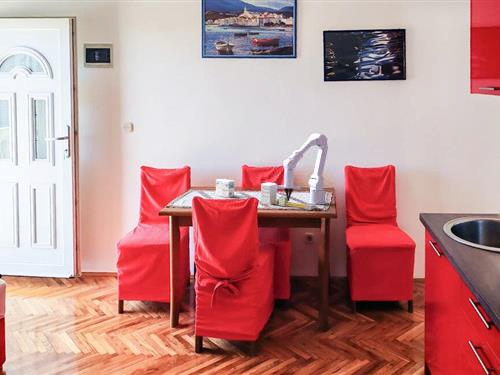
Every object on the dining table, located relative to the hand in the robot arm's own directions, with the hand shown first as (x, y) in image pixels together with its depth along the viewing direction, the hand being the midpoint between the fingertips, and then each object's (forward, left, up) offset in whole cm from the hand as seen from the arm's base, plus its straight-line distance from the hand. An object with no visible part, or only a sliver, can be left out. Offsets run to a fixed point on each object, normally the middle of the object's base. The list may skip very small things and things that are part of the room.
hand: (288, 200), depth 391 cm
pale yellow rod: (-2, +2, -3) cm, 4 cm away
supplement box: (+8, -11, -3) cm, 14 cm away
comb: (-9, +11, -3) cm, 14 cm away
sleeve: (+2, -3, -3) cm, 5 cm away
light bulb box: (+25, -43, -3) cm, 50 cm away
